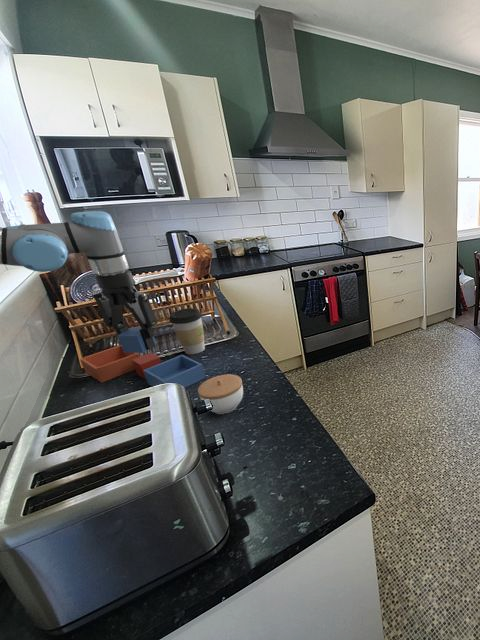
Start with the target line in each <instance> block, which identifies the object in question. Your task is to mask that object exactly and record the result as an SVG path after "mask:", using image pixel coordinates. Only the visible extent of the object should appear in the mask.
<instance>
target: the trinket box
mask: <svg viewBox="0 0 480 640" xmlns="http://www.w3.org/2000/svg"><path fill="white" fill-rule="evenodd" d="M197 394H198V397H199V399H200V401H201V400H205V399H209V400H210V401H211V403H212V405H213V409H212V410H211V411H210V412H212V413H215V414H217V415H225V413H226V414H229V413H232V412H233V411H235V410H236V409H237V408H236V407H238V406H239V405H240V404H241V402H242V400H243V397H244V386H243V381H242V378H241V377H240V376H239V375H237V374H230V373H229V374H228V373H227V374H221V375H216V376H213V377H210V378H209V379H207V380H205V381H203V382H202V383H201V384H200V385H199V386H198V388H197ZM235 408H236V409H235Z"/></svg>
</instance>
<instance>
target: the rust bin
mask: <svg viewBox="0 0 480 640" xmlns="http://www.w3.org/2000/svg"><path fill="white" fill-rule="evenodd" d="M140 356H141V355H140V353H124V351H123V349H122V346H121V344H119V345H117V346H114V347H111V348H107V349H105V350H102V351H99V352H95V353H93V354H90V355H89V354H88V355H87V356H84V357H81V358H79V361H80V363H81V366H82V367H83V370H84V372H85V373H86V374H87V375H89V376H90V377H92V378H94V379H95V380H97V381H98V382H99V383H105V382H107V381H110V380H112V379H115V378H118V377H121V376H122V375H125V374H128V373H130V372H133V371H136V370H135V368H134V365H133V362H132V359H135V358H138V357H140Z"/></svg>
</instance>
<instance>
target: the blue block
mask: <svg viewBox="0 0 480 640" xmlns="http://www.w3.org/2000/svg"><path fill="white" fill-rule="evenodd" d="M140 329H141V326H132V327H130V328H128V330H126V331H125V332H123V333H121V334H120V335H118V336H117V338H118V341H119V345H121V346H122V349H123V351H124V353H139V354H143V353H145V352H147V351H148V350H146V347H145V344H144V341H143V339H142V336H141V333H140ZM153 340H154V342H155V345H156V344H157V341H156V339H155V335H154V336H153Z"/></svg>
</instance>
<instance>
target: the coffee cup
mask: <svg viewBox="0 0 480 640" xmlns="http://www.w3.org/2000/svg"><path fill="white" fill-rule="evenodd" d="M202 317H203V314H202V312H201V311H200V310H199V309H198V308H193V307H189V308H182V309H178V310H175V311H173V312H172V313H170V315H169V318H168V319H169V320H168V321H169V323H171V325H172V327H173V330H174V332H175V335H176V337H177V339H178V342H179V343H180V345H181V346H182V348H183V350H184V353H185V354H186V355H195V354H199V353H200V354H201V353H202V352H203V351H205V349H206V345H205V334H204V326H203V325H204V323H203V321H202Z"/></svg>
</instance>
